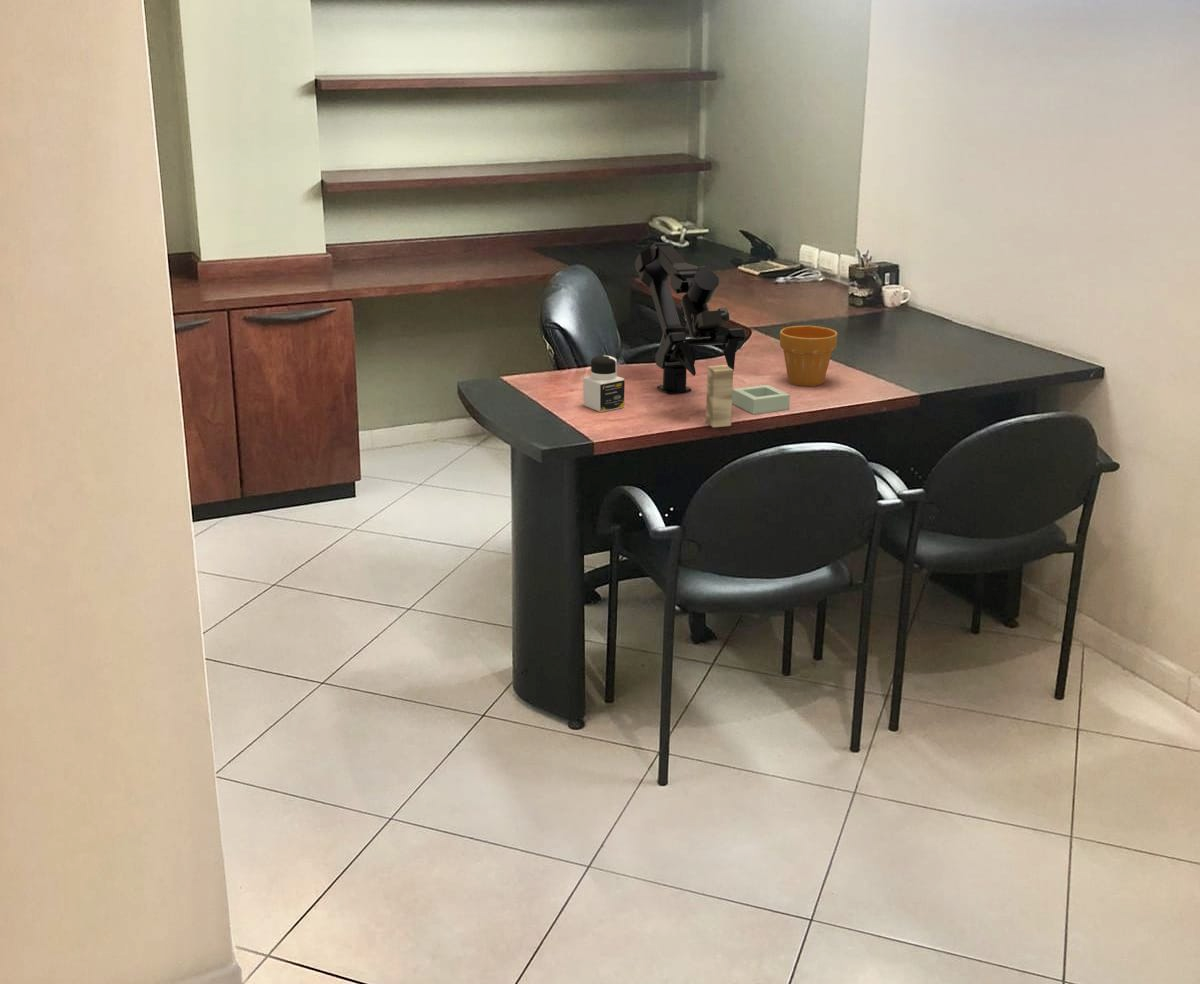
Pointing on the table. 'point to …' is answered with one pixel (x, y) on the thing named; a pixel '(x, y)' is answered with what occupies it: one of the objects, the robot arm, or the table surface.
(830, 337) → the flower pot
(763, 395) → the socket block
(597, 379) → the medicine bottle
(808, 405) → the table surface
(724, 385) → the maple peg
